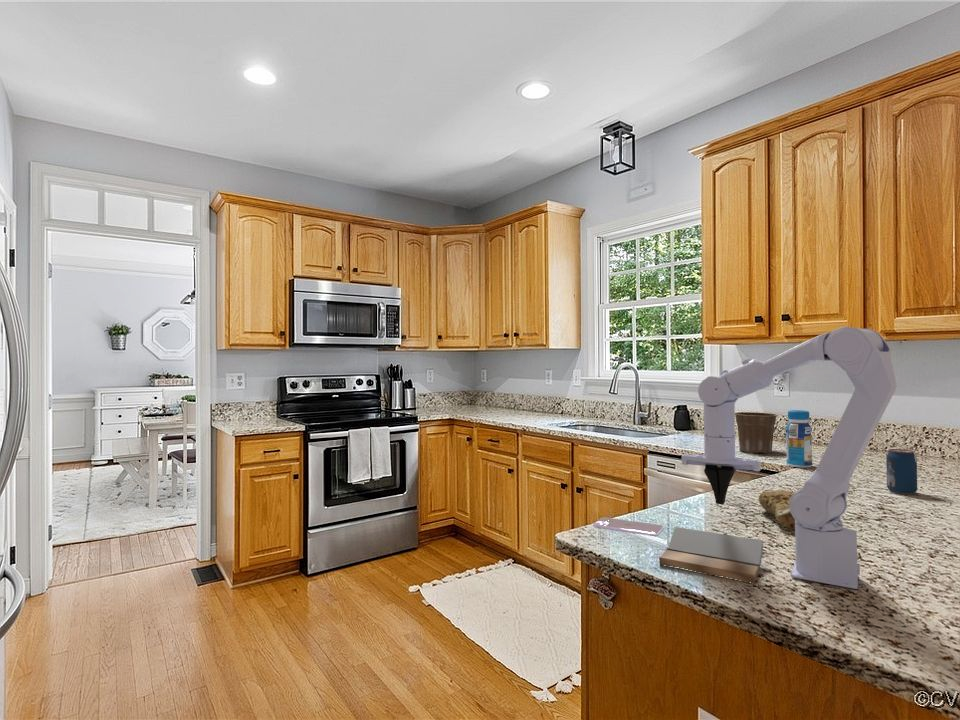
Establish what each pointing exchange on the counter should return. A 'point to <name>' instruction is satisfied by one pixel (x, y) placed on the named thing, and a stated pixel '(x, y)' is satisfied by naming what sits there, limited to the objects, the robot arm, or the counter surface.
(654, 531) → the mobile phone
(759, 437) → the plant pot
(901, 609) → the counter surface
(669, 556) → the walnut board
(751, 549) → the grey plank
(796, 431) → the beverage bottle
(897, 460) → the soda can
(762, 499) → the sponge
